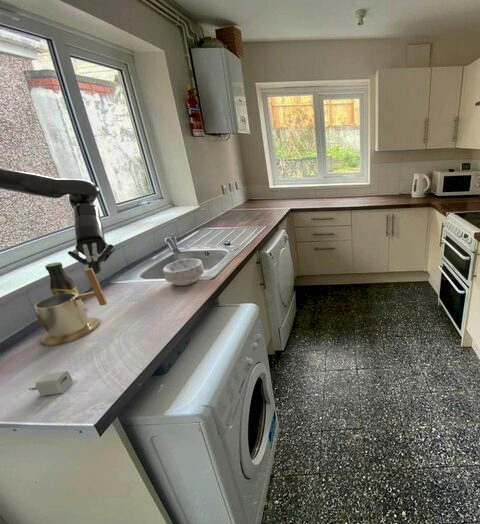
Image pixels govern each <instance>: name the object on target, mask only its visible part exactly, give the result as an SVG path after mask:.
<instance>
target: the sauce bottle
mask: <svg viewBox="0 0 480 524" xmlns="http://www.w3.org/2000/svg"><path fill="white" fill-rule="evenodd" d="M45 270H46V271H47V273H48V274H49V275H48V276H49V277H50V281H49V282H50V283H49V289H50V291H51V294H52V296H56V295H60V294H65V293H76V294H77V295H79V294H80V293H79V290H78V289H77V285H76V284H75V282H74V280H73V279H72V277H70V276H68V275H67V273H66V272H65V269H64V267H63V264H62V262H59V261H57V262H55V261H54V262H51V263H47V264H46V265H45ZM80 302H81V304H82V306H83V308H84V310H85V311H86V308H85V305H84V303H83V299H80Z"/></svg>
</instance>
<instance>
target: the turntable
mask: <svg viewBox="0 0 480 524" xmlns="http://www.w3.org/2000/svg"><path fill="white" fill-rule="evenodd" d="M88 319H89V321H90V325H89V326H88V327H87V328H86V329H85V330H83V331H81V332H79V333H77V334H75V335H72V336H69V337H65V338H60V339H52V338H50V336H49V335H48V333H47V332H45V334H43V335H42V336H41V339H40V341H41V343H42V344H43V345H45V346H57V345H62V344H66V343H70V342H72V341H73V342H74V341H76V340H78V339H80V338H83V337H85V336H86V335H88V334H89V333H91V332H93V331H94V330H95V329H97V327H99V325H100V323H99V320H98V318H96V317H88Z"/></svg>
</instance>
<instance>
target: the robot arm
mask: <svg viewBox="0 0 480 524" xmlns="http://www.w3.org/2000/svg"><path fill="white" fill-rule="evenodd" d="M0 189H1V190H6V191H11V192H16V193H21V194H26V195H31V196H37V197H43V198H49V199H61V198H63V197H64V196H67V195H68V202H69V204H70V207H71V209H72V210H73V216H74V232H75V240H76V241H75V242H76V245H75V249H73V250H69V251H68V252H67V254H68V255H69V256H70V257H71V258H73V259H74V260H76V261H78V262H79V263H80V264H81V265H84V266H86V265H87V266H88V268H93V271H94V273H95V275H97V274H100V272H101V271H102V266H101V264H102V262H107V261H108V259H109V258H110V257H111V256H112V254H113V253H114V252H115V250H116V248H115V246H114V245H113V244H108V243H107V242H106V240H105V233H104V226H103V223H102V220H101V213H100V210H99V208H98V206H97V205H95V204H94V202H95V201H96V199H97V198H99V197H98V196H100V192H101V191H100V188H99V186H98V185H96V183H94V182H91V181H89V180H85V179H76V178H54V177H51V176H45V175H41V174H37V173H31V172H25V171H17V170H12V169H11V170H10V169H5V168H4V169H3V168H0ZM80 254H81V255H83V256H85V258H83V257H82V256H80Z"/></svg>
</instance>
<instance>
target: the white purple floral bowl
mask: <svg viewBox="0 0 480 524" xmlns="http://www.w3.org/2000/svg"><path fill="white" fill-rule="evenodd" d="M204 273H205V267H204V264H203V261H202V260H201V259H199V258H184V259H180V260H175V261H172V262H170V263H168V264H166V265H165V266H164V267H163V268H162V274H163V276H164V279H165V281H166V282H168V283H172V284H174V285H175V286H188V285H192V284H193V283H196V282H198V281H199V279H200V278H201V276H202V275H203V274H204Z"/></svg>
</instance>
